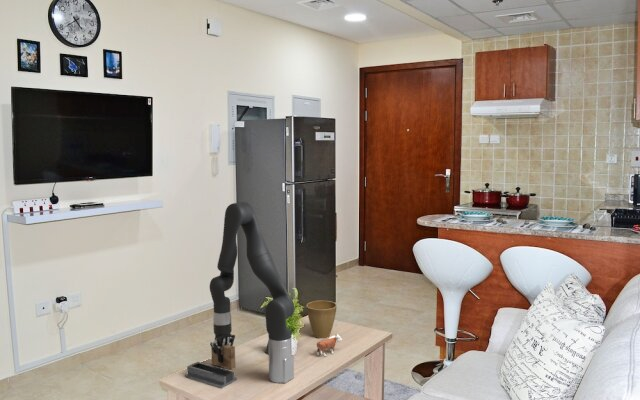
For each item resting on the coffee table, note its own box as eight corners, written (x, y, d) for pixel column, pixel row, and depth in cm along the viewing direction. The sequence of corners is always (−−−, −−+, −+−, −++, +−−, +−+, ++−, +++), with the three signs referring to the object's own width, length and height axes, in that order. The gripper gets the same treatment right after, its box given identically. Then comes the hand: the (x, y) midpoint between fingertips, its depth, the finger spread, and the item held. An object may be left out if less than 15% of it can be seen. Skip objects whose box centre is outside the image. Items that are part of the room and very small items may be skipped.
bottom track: (236, 380, 224) (236, 370, 223) (221, 388, 216) (221, 378, 216) (200, 369, 234) (200, 360, 234) (184, 377, 227) (184, 367, 226)
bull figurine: (343, 352, 253) (343, 334, 252) (319, 358, 246) (319, 340, 245) (337, 349, 257) (337, 332, 256) (313, 355, 249) (313, 338, 248)
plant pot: (304, 332, 280) (304, 301, 279) (333, 330, 283) (333, 299, 281) (309, 342, 266) (309, 309, 264) (339, 340, 268) (339, 308, 267)
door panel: (235, 367, 235) (234, 346, 234) (231, 369, 233) (230, 348, 232) (215, 362, 241) (215, 342, 240) (211, 364, 239) (211, 343, 238)
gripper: (217, 327, 227) (218, 368, 229) (239, 318, 239) (240, 357, 241) (204, 324, 231) (205, 364, 233) (226, 316, 243) (227, 354, 245)
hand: (223, 361), depth 237 cm, fingers closed on door panel, 2 cm apart
